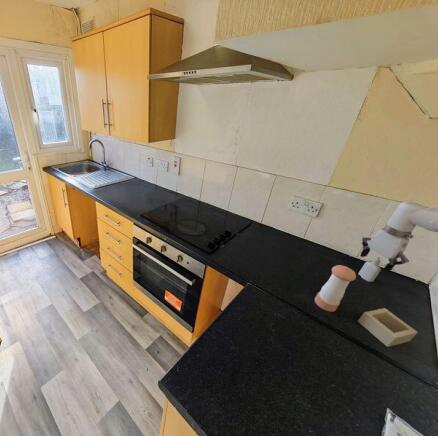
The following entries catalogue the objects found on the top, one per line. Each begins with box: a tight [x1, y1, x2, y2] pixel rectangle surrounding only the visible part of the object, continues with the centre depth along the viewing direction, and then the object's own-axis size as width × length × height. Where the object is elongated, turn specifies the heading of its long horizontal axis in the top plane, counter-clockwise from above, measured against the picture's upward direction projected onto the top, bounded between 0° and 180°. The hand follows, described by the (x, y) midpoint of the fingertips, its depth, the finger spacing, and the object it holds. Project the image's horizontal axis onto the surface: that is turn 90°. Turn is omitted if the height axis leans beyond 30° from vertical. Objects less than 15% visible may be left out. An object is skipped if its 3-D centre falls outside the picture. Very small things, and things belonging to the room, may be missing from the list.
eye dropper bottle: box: [358, 256, 382, 283], centre depth 102 cm, size 4×6×12 cm
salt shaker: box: [314, 264, 357, 313], centre depth 86 cm, size 7×7×19 cm
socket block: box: [357, 307, 418, 348], centre depth 80 cm, size 10×10×5 cm
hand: (373, 263), depth 101 cm, fingers open, 9 cm apart
